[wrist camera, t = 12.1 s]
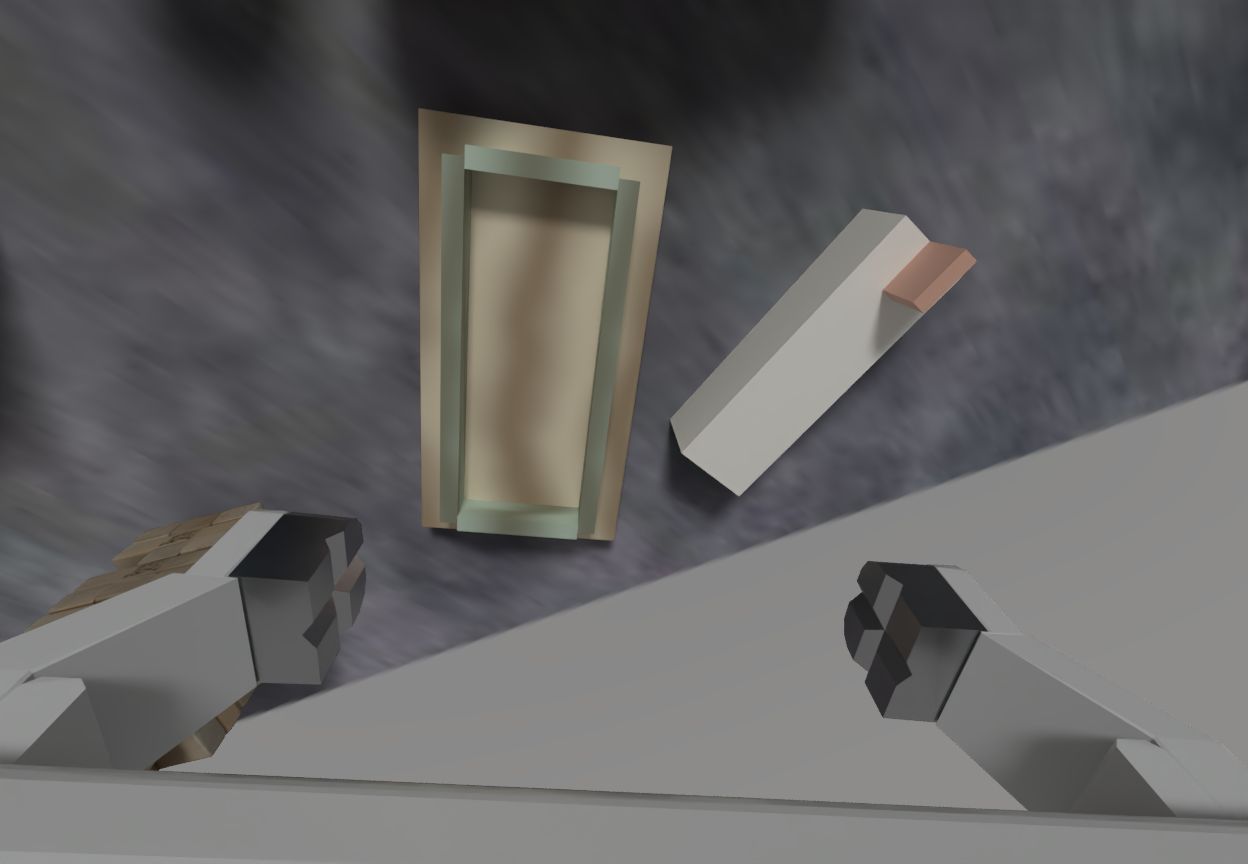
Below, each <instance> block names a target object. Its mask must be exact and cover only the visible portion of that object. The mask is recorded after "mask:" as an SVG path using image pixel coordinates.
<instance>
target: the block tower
mask: <svg viewBox="0 0 1248 864" xmlns="http://www.w3.org/2000/svg"><path fill="white" fill-rule="evenodd" d="M255 509H264V508H263V506H262V504H261V503H254V504H250V505H246V506H243V507H239V508H235V509H231V510H227V511H225V512H223V513H215V514H211V515H207V516H203V517H199V518H195V519H191V520H188V521H185V522H183V523H180V522H178V523H174V524H170V525H167V526H163V527H159V528H155V529H151V530H148V531H146V532H144V533H143V534H141V535H140V536H139V537H138V538H137V539H135V540H134V541H133V542H132V544H131V546H129V547H127V548H125V549H124V550H123V551H122V552H121V553H119V554H118V555H117V556H116V557H115V558H114V559H113V562H114V564H115V565H116V566H117V568H118V569H119V570H120V571H116V572H112V573H108V574H104V575H100V576H96V577H92V578H90V579H88V580H86V581H85V582H84V583H83V584H82V585H80V586H79V587H78V588H77V589H76V590H75V591H74V592H73V593H71V594H69V595H67V596H66V597H65V598H63V599H62V600H61V601H60V602H58V603H57V604H56V605H55V606H53V607H52V608H51V609H50V610H49V615H46V616H43V617H42V618H40V619H39V620H38V621H36V622H35V623H34V624H32V625H31V626H30V627H29V628H28V629H27V630H26V631H24V632H23V634H24V633H26V632H28V631H31V630H33V629H36V628H38V627H41V626H43V625H46V624H48V623H51V622H53V621H56V620H58V619H61V618H63V617H66V616H68V615H70V614H73V613H75V612H78V611H80V610H83V609H85V608H88V607H90V606H93V605H95V604H98V603H100V602H103V601H105V600H108V599H110V598H112V597H115V596H117V595H120V594H122V593H125V592H127V591H130V590H132V589H135V588H137V587H140V586H142V585H145V584H147V583H150V582H152V581H154V580H157V579H159V578H162V577H164V576H167V575H169V574H172V573H178V574H185V573H186V572H187V571H188V570H189V569H190V568H191V567H192V566H193V565H194V564H195V563H196V562H197V561H198V560H199V559H200V558H201V557H202V556H203V555H204V554H205V553H206V552H207V551H208V550H209V549H210V548H211V547H212V546H213V545H214V544H215V543H216V542H217V541H218V540H219V539H220V538H221V537H223V536H224V535H225V534H226V533H227V532H228V531H229V530H230V529H231V528H232V527H233V526H234V525H235V524H236V523H237V522H238V521H239V520H240V519H241V518H242V517H243V516H244V515H245V514H246V513H247V512H248V511H251V510H255ZM260 684H261V683H257V686H258V685H260ZM255 689H256V687H255V688H254V689H252V690H251V691H250V692H248V693H247V694H246V695H244V696H243V697H242V698H240V699H239V700H238V701H236V702H235V703H233V704H232V705H231V706H229V707H228V708H227V709H225V710H224V711H223V712H221V713H220V714H219V715H217V716H216V717H215V718H213V719H212V720H211V721H209V722H208V723H206V724H205V725H204V726H202V727H201V728H200V729H198V730H197V731H196V732H194V733H193V734H192V735H190V736H189V737H188V738H186V739H185V740H184V741H182V742H181V743H179V744H178V745H177V746H175V747H174V748H173V749H171V750H170V751H169V752H167V753H166V754H165V755H163V756H162V757H161V758H159V759H158V760H157V761H155V762H154V763H153V764H151V765H150V766H148V767H147V768H146V769H144V770H150V771H159V769H162V768H166V767H169V766H173V765H177V764H182V763H186V762H190V761H195V760H199V759H204V758H208V757H211V756H212V755H213V754H214V753H215V751H216V749H217V748H218V747H219V745H220V743H221V742H222V740H223V739H224V737H225V735H226V734H227V733H228V732H229V731H230V730H231V729H232V727H233V726H234V724H235V723H236V721H237V719H238V718H239V716H240V714H241V709H240V708H241V707H243V706H244V705H245V704H246V703H247V702H248V700H249V699H250V697H251V696H252V694H253V692H254V691H255Z"/></svg>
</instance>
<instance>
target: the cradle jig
mask: <svg viewBox="0 0 1248 864" xmlns="http://www.w3.org/2000/svg"><path fill="white" fill-rule="evenodd" d="M418 116H419V234H420V352H421V470H422V527H436V528H449V529H457V531H467V532H480V533H494V534H507V535H521V536H534V537H548V538H561V539H575V540H577V538H584V539H597V540H611V541H614V536H615V530H616V523H617V516H618V509H619V503H620V496H621V489H622V482H623V476H624V469H625V462H626V456H627V449H628V442H629V435H630V429H631V422H632V415H633V408H634V402H635V395H636V388H637V381H638V375H639V368H640V361H641V355H642V348H643V341H644V334H645V328H646V321H647V314H648V307H649V301H650V294H651V287H652V280H653V274H654V267H655V260H656V254H657V247H658V240H659V233H660V227H661V220H662V213H663V206H664V200H665V193H666V186H667V179H668V173H669V166H670V159H671V153H672V146H667V145H660V144H654V143H647V142H640V141H634V140H627V139H620V138H614V137H607V136H600V135H594V134H587V133H580V132H574V131H567V130H560V129H554V128H547V127H540V126H534V125H527V124H521V123H514V122H507V121H501V120H494V119H487V118H481V117H474V116H467V115H461V114H454V113H447V112H441V111H434V110H427V109H421V108H418Z"/></svg>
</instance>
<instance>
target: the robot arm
mask: <svg viewBox="0 0 1248 864" xmlns="http://www.w3.org/2000/svg"><path fill="white" fill-rule="evenodd" d="M362 544H363V533H362V524H361V523H360V522H359V520H358V519H357V518H348V517H338V516H329V515H319V514H309V513H299V512H287V511H278V510H266V509H255V510H251V511H248V512H247V513H246V514H245V515H244V516H243V517H242V518H241V519H240V520H239V521H238V522H237V523H236V524H235V525H234V526H233V527H232V528H231V529H230V530H229V531H228V532H227V533H226V534H225V535H224V536H223V537H221V538H220V539H219V540H218V541H217V542H216V543H215V544H214V545H213V546H212V547H211V548H210V549H209V550H208V551H207V552H206V553H205V554H204V555H203V556H202V557H201V558H200V559H199V560H198V561H197V562H196V563H195V564H194V565H193V566H192V567H191V568H190V569H189V570H188V571H187V572H186V573H185V574H178V573H172V574H169V575H167V576H164V577H162V578H159V579H157V580H154V581H152V582H150V583H147V584H145V585H142V586H140V587H137V588H135V589H132V590H130V591H127V592H125V593H122V594H120V595H117V596H115V597H112V598H110V599H108V600H105V601H103V602H100V603H98V604H95V605H93V606H90V607H88V608H85V609H83V610H80V611H78V612H75V613H73V614H70V615H68V616H66V617H63V618H61V619H58V620H56V621H53V622H51V623H48V624H46V625H43V626H41V627H38V628H36V629H33V630H31V631H28V632H26V633H24V634H21V635H19V636H16V637H14V638H11V639H9V640H6V641H4V642H1V643H0V864H1248V768H1247V767H1246V766H1245V765H1244V764H1243V763H1242V762H1240V761H1239V760H1238V759H1237V758H1236V757H1235V756H1234V755H1233V754H1232V753H1231V752H1230V751H1229V750H1228V749H1227V748H1225V747H1224V746H1223V745H1222V744H1221V743H1220V742H1218V741H1217V740H1215V739H1213V738H1211V737H1210V736H1208V735H1206V734H1204V733H1203V732H1201V731H1199V730H1197V729H1196V728H1194V727H1192V726H1190V725H1189V724H1187V723H1185V722H1183V721H1181V720H1180V719H1178V718H1176V717H1175V716H1173V715H1171V714H1169V713H1168V712H1166V711H1164V710H1162V709H1160V708H1159V707H1157V706H1155V705H1154V704H1152V703H1150V702H1148V701H1146V700H1145V699H1143V698H1141V697H1139V696H1138V695H1136V694H1134V693H1132V692H1131V691H1129V690H1127V689H1125V688H1124V687H1122V686H1120V685H1118V684H1117V683H1115V682H1113V681H1111V680H1110V679H1108V678H1106V677H1104V676H1102V675H1101V674H1099V673H1097V672H1096V671H1094V670H1092V669H1090V668H1089V667H1087V666H1085V665H1083V664H1081V663H1080V662H1078V661H1076V660H1075V659H1073V658H1071V657H1069V656H1067V655H1066V654H1064V653H1062V652H1061V651H1059V650H1057V649H1055V648H1054V647H1052V646H1050V645H1048V644H1046V643H1045V642H1043V641H1041V640H1040V639H1038V638H1036V637H1034V636H1031V635H1023V634H1022V633H1021V632H1020V631H1019V630H1018V628H1017V627H1016V626H1015V625H1014V624H1013V623H1012V622H1011V621H1010V620H1009V618H1008V617H1007V616H1006V615H1005V614H1004V613H1003V612H1002V611H1001V610H1000V608H999V607H998V606H997V605H996V604H995V603H994V602H993V601H992V600H991V599H990V597H989V596H988V595H987V594H986V593H985V592H984V591H983V590H982V589H981V587H980V586H979V585H978V584H977V583H976V582H975V581H974V580H973V578H972V577H971V576H970V575H969V574H968V573H967V572H966V571H965V570H963V569H961V568H959V567H957V566H949V565H929V564H927V565H918V564H903V563H888V562H874V561H868V562H867V563H866V564H865V565H864V566H863V568H862V569H861V571H860V574H859V577H858V579H857V582H858V584H859V586H860V589H861V591H862V593H860V594H859V595H858V596H857V597H855V598H854V599H853V600H852V601H850V602H849V605H848V608H847V611H846V615H845V618H844V635H845V640H846V644H847V648H848V650H849V652H850V654H851V656H852V658H853V660H854V661H855V662H857V663H858V664H859V665H860V666H862V667H863V668H864V669H865V670H867V671H868V674H867V677H866V680H865V684H866V686H867V688H868V690H869V692H870V694H871V695H872V698H873V700H874V701H875V703H876V705H877V707H878V709H879V711H880V713H881V715H882V717H883V718H892V719H904V720H915V721H926V722H937V723H936V726H937V727H938V728H940V729H941V730H942V731H943V732H944V733H945V734H946V735H947V736H948V737H949V738H950V739H951V740H952V741H954V742H955V743H956V744H957V745H958V746H959V747H960V748H961V749H962V750H964V752H966V754H968V755H969V756H970V757H971V758H972V759H973V760H974V761H975V762H976V763H977V764H979V766H981V767H982V768H983V769H984V770H985V771H986V772H987V773H988V774H989V775H990V776H991V777H992V778H993V779H995V780H996V781H997V782H998V783H999V784H1000V785H1001V786H1002V787H1003V788H1004V789H1005V790H1007V792H1009V793H1010V794H1011V795H1012V796H1013V797H1014V798H1015V799H1016V800H1017V801H1018V802H1019V803H1020V804H1022V805H1023V806H1024V807H1025V808H1026V809H1027V810H1028V811H1019V810H997V809H974V808H973V809H972V808H952V807H931V806H909V805H888V804H887V805H886V804H868V803H847V802H846V803H845V802H825V801H805V800H802V801H801V800H782V799H761V798H740V797H719V796H697V795H674V794H652V793H631V792H609V791H587V790H565V789H564V790H563V789H543V788H520V787H499V786H498V787H496V786H475V785H455V784H433V783H412V782H390V781H389V782H388V781H367V780H346V779H345V780H344V779H324V778H323V779H322V778H303V777H281V776H280V777H279V776H259V775H258V776H257V775H237V774H213V773H193V772H172V771H170V772H169V771H150V770H144V769H146V768H147V767H148V766H150V765H151V764H153V763H154V762H155V761H157V760H158V759H159V758H161V757H162V756H163V755H165V754H166V753H167V752H169V751H170V750H171V749H173V748H174V747H175V746H177V745H178V744H179V743H181V742H182V741H184V740H185V739H186V738H188V737H189V736H190V735H192V734H193V733H194V732H196V731H197V730H198V729H200V728H201V727H202V726H204V725H205V724H206V723H208V722H209V721H211V720H212V719H213V718H215V717H216V716H217V715H219V714H220V713H221V712H223V711H224V710H225V709H227V708H228V707H229V706H231V705H232V704H233V703H235V702H236V701H238V700H239V699H240V698H242V697H243V696H244V695H246V694H247V693H248V692H250V691H251V690H252V689H254V688H255V687H256V686H257V683H285V684H317V685H321V683H322V681H323V680H324V678H325V676H326V674H327V672H328V670H329V669H330V667H331V665H332V663H333V661H334V659H335V657H336V656H337V654H338V652H339V650H340V641H339V634H341V633H342V632H344V631H346V630H347V629H349V628H350V627H352V626H353V624H354V622H355V620H356V618H357V616H358V614H359V612H360V608H361V605H362V601H363V598H364V594H365V584H366V571H365V565H364V564H363V563H362V561H361V560H360V559H359V558H358V557H357V556H356V553H357V552H358V550H359V548H360V547H361V545H362Z"/></svg>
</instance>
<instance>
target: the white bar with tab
mask: <svg viewBox="0 0 1248 864" xmlns="http://www.w3.org/2000/svg"><path fill="white" fill-rule="evenodd" d="M976 262H977V261H976V260H975V259H974V257H973V256H972V255H971V254H970V253H969V252H968V251H967V250H966V249H962V248H958V247H953V246H949V245H944V244H939V243H935V242H930V241H929V240H928V239H927V238H926V237H925V236H924V235H923V234H922V232H921V231H920V230H919V229H918V228H917V227H916V226H915V225H914V224H913V223H912V221H911V220H910V219H909V218H908V217H907V216H906V215H899V214H893V213H886V212H880V211H873V210H867V209H862V210H861V211H860V212H859V213H858V215H857V216H856V217H855V218H854V219H853V220H852V221H851V222H850V223H849V224H848V225H847V227H846V228H845V229H844V230H843V231H842V232H841V233H840V234H839V235H838V236H837V237H836V239H835V240H834V241H833V242H832V243H831V244H830V245H829V246H828V247H827V248H826V249H825V251H824V252H823V253H822V254H821V255H820V256H819V257H818V258H817V259H816V260H815V262H814V263H813V264H812V265H811V266H810V267H809V268H808V269H807V270H806V271H805V272H804V274H803V275H802V276H801V277H800V278H799V279H798V280H797V281H796V282H795V283H794V284H793V286H792V287H791V288H790V289H789V290H788V291H787V292H786V293H785V294H784V295H783V296H782V298H781V299H780V300H779V301H778V302H777V303H776V304H775V305H774V306H773V307H772V308H771V310H770V311H769V312H768V313H767V314H766V315H765V316H764V317H763V318H762V319H761V320H760V322H759V323H758V324H757V325H756V326H755V327H754V328H753V329H752V330H751V331H750V333H749V334H748V335H747V336H746V337H745V338H744V339H743V340H742V341H741V342H740V343H739V345H738V346H737V347H736V348H735V349H734V350H733V351H732V352H731V353H730V354H729V355H728V357H727V358H726V359H725V360H724V361H723V362H722V363H721V364H720V365H719V366H718V367H717V369H716V370H715V371H714V372H713V373H712V374H711V375H710V376H709V377H708V378H707V379H706V381H705V382H704V383H703V384H702V385H701V386H700V387H699V388H698V389H697V390H696V391H695V393H694V394H693V395H692V396H691V397H690V398H689V399H688V400H687V401H686V402H685V403H684V405H683V406H682V407H681V408H680V409H679V410H678V411H677V412H676V413H675V414H674V416H673V417H672V418H671V419H670V421H671V424H672V427H673V430H674V433H675V436H676V439H677V442H678V445H679V447H680V450H681V453H682V454H683V455H684V456H686V457H687V458H688V459H690V460H691V461H692V462H694V463H695V464H696V465H698V466H699V467H700V468H702V469H703V470H704V471H706V472H707V473H708V474H710V475H711V476H712V477H714V478H715V479H716V480H718V481H719V482H720V483H722V484H723V485H724V486H726V487H727V488H728V489H730V490H731V491H732V492H734V493H735V494H736V495H738V496H740V495H741V494H742V493H743V492H744V491H745V490H746V489H747V488H748V487H749V486H750V485H751V484H752V483H753V482H754V481H755V480H756V479H757V478H758V477H759V476H760V475H761V474H762V473H763V472H764V471H765V470H766V469H767V468H768V467H769V466H770V465H772V464H773V463H774V462H775V461H776V460H777V459H778V458H779V457H780V456H781V455H782V454H783V453H784V452H785V451H786V450H787V449H788V448H789V447H790V446H791V445H792V444H793V443H794V442H795V441H796V440H797V439H798V438H799V437H800V436H801V435H802V434H803V433H804V432H805V431H806V430H807V429H808V428H809V427H810V426H811V425H812V424H813V423H814V422H815V421H816V420H817V419H818V418H819V417H820V416H821V415H822V414H823V413H824V412H825V411H826V410H827V409H828V408H829V407H830V406H831V405H832V404H833V403H834V402H835V401H836V400H837V399H838V398H839V397H840V396H841V395H842V394H843V393H844V392H846V391H847V390H848V389H849V388H850V387H851V386H852V385H853V384H854V383H855V382H856V381H857V380H858V379H859V378H860V377H861V376H862V375H863V374H864V373H865V372H866V371H867V370H868V369H869V368H870V367H871V366H872V365H873V364H874V363H875V362H876V361H877V360H878V359H879V358H880V357H881V356H882V355H883V354H884V353H885V352H886V351H887V350H888V349H889V348H890V347H891V346H892V345H893V344H894V343H895V342H896V341H897V340H898V339H899V338H900V337H901V336H902V335H903V334H904V333H905V332H906V331H907V330H908V329H909V328H910V327H911V326H912V325H913V324H914V323H915V322H916V321H917V320H918V319H919V318H921V317H922V316H923V315H924V314H925V313H926V312H927V311H928V310H929V309H930V308H931V307H932V306H933V305H934V304H935V303H936V302H937V301H938V300H939V299H940V298H941V297H942V296H943V295H944V294H945V293H946V292H947V291H948V290H949V289H950V288H951V287H952V286H953V285H954V284H955V283H956V282H957V281H958V280H959V279H960V278H961V277H962V276H963V275H964V274H965V273H966V272H967V271H968V270H969V269H970V268H971V267H972V266H973V265H974V264H975V263H976Z"/></svg>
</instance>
